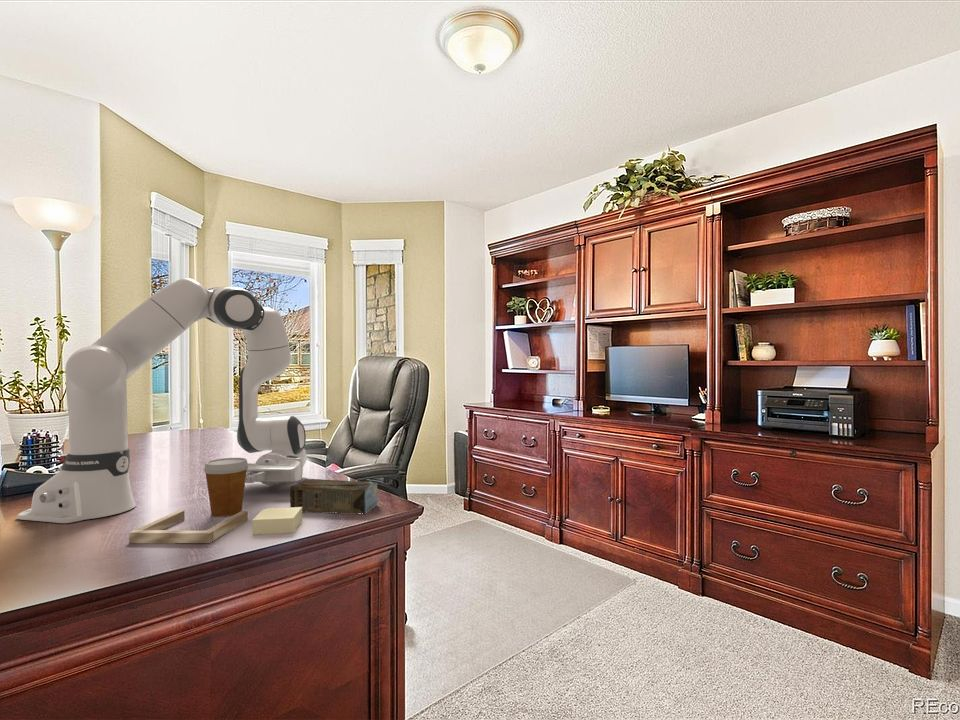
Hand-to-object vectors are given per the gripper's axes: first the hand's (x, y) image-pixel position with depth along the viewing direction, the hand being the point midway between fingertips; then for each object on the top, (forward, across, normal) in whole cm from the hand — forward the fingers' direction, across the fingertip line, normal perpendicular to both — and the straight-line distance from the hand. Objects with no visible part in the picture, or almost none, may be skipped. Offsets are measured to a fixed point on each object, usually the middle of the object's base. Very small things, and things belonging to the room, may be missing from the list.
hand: (246, 479), depth 126 cm
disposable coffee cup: (+9, 0, +6) cm, 11 cm away
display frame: (+21, 0, +6) cm, 22 cm away
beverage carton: (+5, +24, +6) cm, 26 cm away
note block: (+19, +17, +5) cm, 26 cm away
